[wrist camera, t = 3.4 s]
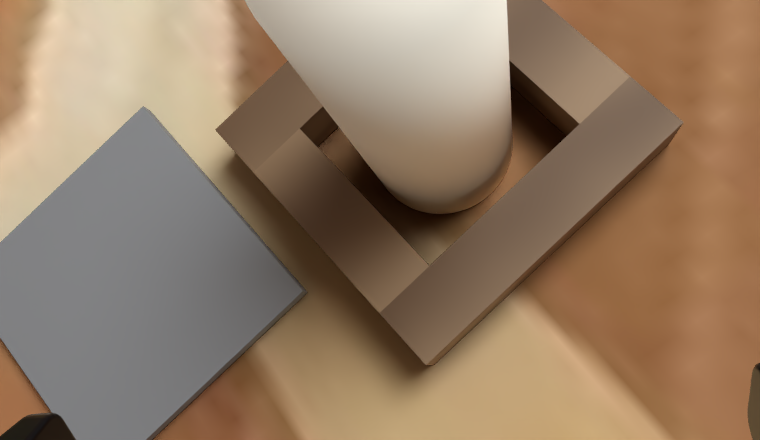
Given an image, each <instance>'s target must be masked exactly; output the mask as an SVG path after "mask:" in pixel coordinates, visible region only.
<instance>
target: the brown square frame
mask: <svg viewBox="0 0 760 440" xmlns="http://www.w3.org/2000/svg"><path fill="white" fill-rule="evenodd" d="M507 20H508V44H509V67H510V85H511V86H512V87H514V88H515V89H516V90H517V91H518V92H519V93H520V94H521V95H522V96H523V97H524V98H526V99H527V100H528V101H529V102H530V103H531V104H532V105H533V106H534V107H535V108H536V109H538V110H539V111H540V112H541V113H542V114H543V115H544V116H545V117H546V118H547V119H548V120H549V121H551V122H552V123H553V124H554V125H555V126H556V127H557V128H558V129H559V130H560V131H561V132H563V133H564V134H565V135H566V137H565V138H564V139H563V140H562V141H561V142H560V143H559V144H558V145H557V146H556V147H555V148H554V149H553V150H552V151H551V152H550V153H548V154H547V155H546V156H545V157H544V158H543V159H542V160H541V161H540V162H539V163H538V164H537V165H536V166H535V167H534V168H533V169H532V170H530V171H529V172H528V173H527V174H526V175H525V176H524V177H523V178H522V179H521V180H520V181H519V182H518V183H517V184H516V185H515V186H514V187H512V188H511V189H510V190H509V191H508V192H507V193H506V194H505V195H504V196H503V197H502V198H501V199H500V200H499V201H498V202H497V203H496V204H494V205H493V206H492V207H491V208H490V209H489V210H488V211H487V212H486V213H485V214H484V215H483V216H482V217H481V218H480V219H479V220H478V221H476V222H475V223H474V224H473V225H472V226H471V227H470V228H469V229H468V230H467V231H466V232H465V233H464V234H463V235H462V236H461V237H460V238H458V239H457V240H456V241H455V242H454V243H453V244H452V245H451V246H450V247H449V248H448V249H447V250H446V251H445V252H444V253H443V254H442V255H440V256H439V257H438V258H437V259H436V260H435V261H434V262H433V263H432V264H431V265H430V266H429V265H428V264H427V263H426V262H425V260H424V259H423V258H422V257H421V256H420V255H419V254H418V253H417V252H416V251H415V250H414V249H413V248H412V247H411V246H410V245H409V244H408V242H407V241H406V240H405V239H404V238H403V237H402V236H401V235H400V234H399V233H398V232H397V231H396V230H395V229H394V228H393V227H392V225H391V224H390V223H389V222H388V221H387V220H386V219H385V218H384V217H383V216H382V215H381V214H380V213H379V212H378V211H377V210H376V209H375V207H374V206H373V205H372V204H371V203H370V202H369V201H368V200H367V199H366V198H365V197H364V196H363V195H362V194H361V193H360V192H359V191H358V189H357V188H356V187H355V186H354V185H353V184H352V183H351V182H350V181H349V180H348V179H347V178H346V177H345V176H344V175H343V174H342V173H341V171H340V170H339V169H338V168H337V167H336V166H335V165H334V164H333V163H332V162H331V161H330V160H329V159H328V158H327V157H326V156H325V155H324V153H323V152H322V151H321V150H320V149H319V148H318V146H319V145H320V144H321V143H322V142H323V141H324V140H325V139H326V138H327V137H328V136H329V135H330V134H331V133H332V132H333V131H334V130H335V129H337V128H338V127H339V126H338V125H337V124H336V123H335V121H334V120H333V119H332V117H331V116H330V115H329V113H328V112H327V111H326V110H325V108H324V107H323V106H322V104H321V103H320V102H319V100H318V99H317V98H316V97H315V95H314V94H313V93H312V91H311V90H310V89H309V87H308V86H307V85H306V84H305V82H304V81H303V80H302V78H301V77H300V76H299V74H298V73H297V72H296V71H295V69H294V68H293V67H292V65H291V64H290V63H289V62H288V61H287V62H286V63H285V64H284V65H283V66H282V67H281V68H280V69H279V70H278V71H276V72H275V73H274V74H273V75H272V76H271V77H270V78H269V79H268V80H267V81H266V82H265V83H264V84H263V85H262V86H261V87H260V88H259V89H258V90H257V91H255V92H254V93H253V94H252V95H251V96H250V97H249V98H248V99H247V100H246V101H245V102H244V103H243V104H242V105H241V106H240V107H239V108H238V109H237V110H236V111H234V112H233V113H232V114H231V115H230V116H229V117H228V118H227V119H226V120H225V121H224V122H223V123H222V124H221V125H220V126H219V127H218V128H217V129H216V131H217V132H218V134H219V135H220V136H221V137H222V138H223V139H224V140H225V141H226V142H227V144H228V145H229V146H230V147H231V148H232V149H233V150H234V151H235V153H236V154H237V155H238V156H239V157H240V158H241V159H242V160H243V161H244V163H245V164H246V165H247V166H248V167H249V168H250V169H251V170H252V172H253V173H254V174H255V175H256V176H257V177H258V178H259V179H260V180H261V182H262V183H263V184H264V185H265V186H266V187H267V188H268V189H269V190H270V192H271V193H272V194H273V195H274V196H275V197H276V198H277V199H278V201H279V202H280V203H281V204H282V205H283V206H284V207H285V208H286V209H287V211H288V212H289V213H290V214H291V215H292V216H293V217H294V218H295V220H296V221H297V222H298V223H299V224H300V225H301V226H302V227H303V228H304V230H305V231H306V232H307V233H308V234H309V235H310V236H311V237H312V239H313V240H314V241H315V242H316V243H317V244H318V245H319V246H320V247H321V249H322V250H323V251H324V252H325V253H326V254H327V255H328V256H329V258H330V259H331V260H332V261H333V262H334V263H335V264H336V265H337V266H338V268H339V269H340V270H341V271H342V272H343V273H344V274H345V275H346V276H347V278H348V279H349V280H350V281H351V282H352V283H353V284H354V285H355V287H356V288H357V289H358V290H359V291H360V292H361V293H362V294H363V295H364V297H365V298H366V299H367V300H368V301H369V302H370V303H371V304H372V306H373V307H374V308H375V309H376V310H377V311H378V312H379V313H380V314H381V316H382V317H383V318H384V319H385V320H386V321H387V322H388V323H389V325H390V326H391V327H392V328H393V329H394V330H395V331H396V332H397V333H398V335H399V336H400V337H401V338H402V339H403V340H404V341H405V342H406V344H407V345H408V346H409V347H410V348H411V349H412V350H413V351H414V352H415V354H416V355H417V356H418V357H419V358H420V359H421V360H422V361H423V362H424V364H425V365H435V364H436V363H437V362H438V361H439V360H440V359H441V358H442V357H443V356H444V355H445V354H446V353H447V352H449V351H450V350H451V349H452V348H453V347H454V346H455V345H456V344H457V343H458V342H459V341H460V340H461V339H462V338H463V337H464V336H466V335H467V334H468V333H469V332H470V331H471V330H472V329H473V328H474V327H475V326H476V325H477V324H478V323H479V322H480V321H481V320H482V319H484V318H485V317H486V316H487V315H488V314H489V313H490V312H491V311H492V310H493V309H494V308H495V307H496V306H497V305H498V304H499V303H501V302H502V301H503V300H504V299H505V298H506V297H507V296H508V295H509V294H510V293H511V292H512V291H513V290H514V289H515V288H516V287H518V286H519V285H520V284H521V283H522V282H523V281H524V280H525V279H526V278H527V277H528V276H529V275H530V274H531V273H532V272H533V271H534V270H536V269H537V268H538V267H539V266H540V265H541V264H542V263H543V262H544V261H545V260H546V259H547V258H548V257H549V256H550V255H551V254H553V253H554V252H555V251H556V250H557V249H558V248H559V247H560V246H561V245H562V244H563V243H564V242H565V241H566V240H567V239H568V238H570V237H571V236H572V235H573V234H574V233H575V232H576V231H577V230H578V229H579V228H580V227H581V226H582V225H583V224H584V223H585V222H586V221H588V220H589V219H590V218H591V217H592V216H593V215H594V214H595V213H596V212H597V211H598V210H599V209H600V208H601V207H602V206H603V205H605V204H606V203H607V202H608V201H609V200H610V199H611V198H612V197H613V196H614V195H615V194H616V193H617V192H618V191H619V190H620V189H622V188H623V187H624V186H625V185H626V184H627V183H628V182H629V181H630V180H631V179H632V178H633V177H634V176H635V175H636V174H637V173H639V172H640V171H641V170H642V169H643V168H644V167H645V166H646V165H647V164H648V163H649V162H650V161H651V160H652V159H653V158H654V157H655V156H657V155H658V154H659V153H660V152H661V151H662V150H663V149H664V148H665V147H666V146H667V145H668V144H669V143H670V142H671V140H672V139H673V137H674V136H675V134H676V133H677V131H678V130H679V128H680V127H681V125H682V124H683V121H682V120H680V119H679V118H678V117H677V116H676V115H675V114H673V113H672V112H671V111H670V110H669V109H668V108H666V107H665V106H664V105H663V104H662V103H661V102H659V101H658V100H657V99H656V98H655V97H654V96H652V95H651V94H650V93H649V92H648V91H647V90H645V89H644V88H643V87H642V86H641V85H640V84H638V83H637V82H636V81H635V80H634V79H633V78H631V77H630V76H629V75H628V74H627V73H626V72H624V71H623V70H622V69H621V68H620V67H619V66H618V65H616V64H615V63H614V62H613V61H612V60H611V59H609V58H608V57H607V56H606V55H605V54H604V53H602V52H601V51H600V50H599V49H598V48H597V47H595V46H594V45H593V44H592V43H591V42H590V41H588V40H587V39H586V38H585V37H584V36H583V35H581V34H580V33H579V32H578V31H577V30H576V29H574V28H573V27H572V26H571V25H570V24H569V23H567V22H566V21H565V20H564V19H563V18H562V17H560V16H559V15H558V14H557V13H556V12H555V11H553V10H552V9H551V8H550V7H549V6H548V5H546V4H545V3H544V2H543V1H542V0H507Z"/></svg>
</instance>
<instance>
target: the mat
mask: <svg viewBox="0 0 760 440" xmlns="http://www.w3.org/2000/svg"><path fill="white" fill-rule="evenodd" d="M306 293H308V292H307V291H306V290H305V289H304V288H303V286H302V285H301V284H300V283H299V282H298V281H297V279H296V278H295V277H294V276H293V275H292V274H291V273H290V271H289V270H288V269H287V268H286V267H285V266H284V265H283V263H282V262H281V261H280V260H279V259H278V258H277V256H276V255H275V254H274V253H273V252H272V251H271V250H270V248H269V247H268V246H267V245H266V244H265V243H264V241H263V240H262V239H261V238H260V237H259V236H258V235H257V233H256V232H255V231H254V230H253V229H252V228H251V226H250V225H249V224H248V223H247V222H246V221H245V220H244V218H243V217H242V216H241V215H240V214H239V213H238V212H237V210H236V209H235V208H234V207H233V206H232V205H231V203H230V202H229V201H228V200H227V199H226V198H225V197H224V195H223V194H222V193H221V192H220V191H219V190H218V188H217V187H216V186H215V185H214V184H213V183H212V182H211V180H210V179H209V178H208V177H207V176H206V175H205V173H204V172H203V171H202V170H201V169H200V168H199V167H198V165H197V164H196V163H195V162H194V161H193V160H192V159H191V157H190V156H189V155H188V154H187V153H186V152H185V150H184V149H183V148H182V147H181V146H180V145H179V144H178V142H177V141H176V140H175V139H174V138H173V137H172V135H171V134H170V133H169V132H168V131H167V130H166V129H165V127H164V126H163V125H162V124H161V123H160V122H159V120H158V119H157V118H156V117H155V116H154V115H153V114H152V112H151V111H150V110H148V109H147V108H145V107H144V106H143V107H142V108H141V109H140V110H139V111H138V112H137V113H136V114H134V115H133V116H132V117H131V118H130V119H129V120H128V121H127V122H126V123H125V124H124V125H123V126H122V127H121V128H120V129H119V130H118V131H117V132H116V133H115V134H114V135H112V136H111V137H110V138H109V139H108V140H107V141H106V142H105V143H104V144H103V145H102V146H101V147H100V148H99V149H98V150H97V151H96V152H95V153H94V154H93V155H91V156H90V157H89V158H88V159H87V160H86V161H85V162H84V163H83V164H82V165H81V166H80V167H79V168H78V169H77V170H76V171H75V172H74V173H73V174H72V175H71V176H69V177H68V178H67V179H66V180H65V181H64V182H63V183H62V184H61V185H60V186H59V187H58V188H57V189H56V190H55V191H54V192H53V193H52V194H51V195H50V196H48V197H47V198H46V199H45V200H44V201H43V202H42V203H41V204H40V205H39V206H38V207H37V208H36V209H35V210H34V211H33V212H32V213H31V214H30V215H29V216H28V217H26V218H25V219H24V220H23V221H22V222H21V223H20V224H19V225H18V226H17V227H16V228H15V229H14V230H13V231H12V232H11V233H10V234H9V235H8V236H7V237H5V238H4V239H3V240H2V241H1V242H0V338H1V340H2V341H3V342H4V344H5V345H6V347H7V348H8V350H9V351H10V353H11V354H12V355H13V357H14V358H15V360H16V361H17V363H18V364H19V366H20V367H21V368H22V370H23V371H24V373H25V374H26V376H27V377H28V379H29V380H30V381H31V383H32V384H33V386H34V387H35V389H36V390H37V392H38V393H39V394H40V396H41V397H42V399H43V400H44V402H45V403H46V404H47V406H48V407H49V409H50V410H51V412H52V413H56V414H58V415H60V416H61V417H62V418H63V420H64V421H65V423H66V424H67V426H68V428H69V429H70V431H71V432H72V434H73V436H74V437H75V439H76V440H152V439H153V438H154V437H155V436H156V435H157V434H159V433H160V432H161V431H162V430H163V429H164V428H165V427H166V426H167V425H168V424H169V423H170V422H171V421H172V420H173V419H174V418H175V417H176V416H178V415H179V414H180V413H181V412H182V411H183V410H184V409H185V408H186V407H187V406H188V405H189V404H190V403H191V402H192V401H193V400H194V399H195V398H197V397H198V396H199V395H200V394H201V393H202V392H203V391H204V390H205V389H206V388H207V387H208V386H209V385H210V384H211V383H212V382H213V381H215V380H216V379H217V378H218V377H219V376H220V375H221V374H222V373H223V372H224V371H225V370H226V369H227V368H228V367H229V366H230V365H231V364H232V363H234V362H235V361H236V360H237V359H238V358H239V357H240V356H241V355H242V354H243V353H244V352H245V351H246V350H247V349H248V348H249V347H250V346H252V345H253V344H254V343H255V342H256V341H257V340H258V339H259V338H260V337H261V336H262V335H263V334H264V333H265V332H266V331H267V330H268V329H269V328H271V327H272V326H273V325H274V324H275V323H276V322H277V321H278V320H279V319H280V318H281V317H282V316H283V315H284V314H285V313H286V312H287V311H288V310H290V309H291V308H292V307H293V306H294V305H295V304H296V303H297V302H298V301H299V300H300V299H301V298H302V297H303V296H304V295H305V294H306Z"/></svg>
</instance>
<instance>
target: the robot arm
mask: <svg viewBox="0 0 760 440" xmlns="http://www.w3.org/2000/svg"><path fill="white" fill-rule="evenodd" d="M748 423H749V428H750V432H751V435H752V438H753V440H760V363H758V364H756V365H755V367H754V369H753V372H752V379H751V387H750V395H749V403H748ZM0 440H76V439H75V437H74V436H73V434H72V432H71V431H70V429H69V428H68V426H67V424H66V423H65V421H64V420H63V418H62V417H61V416H60V415H58V414H56V413H41V414H31V415H28V416H26V417H24V418H22V419H21V420H20V421H19V422H17V423H16V424H15V425H14V426H12V427H11V428H10V429H9V430H7V431H6V432H5V433H4V434H2V435H1V436H0Z"/></svg>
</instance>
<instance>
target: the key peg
mask: <svg viewBox="0 0 760 440" xmlns="http://www.w3.org/2000/svg"><path fill="white" fill-rule="evenodd" d="M245 2H246V4H247V6H248V7H249V9H250V11H251V12H252V14H253V16H254V17H255V19H256V20H257V21H258V23H259V24H260V25H261V26H262V28H263V29H264V30H265V32H266V33H267V34H268V36H269V37H270V38H271V39H272V41H273V42H274V43H275V45H276V46H277V47H278V49H279V50H280V51H281V52H282V54H283V55H284V56H285V58H286V59H287V60H288V62H289V63H290V64H291V65H292V67H293V68H294V69H295V71H296V72H297V73H298V74H299V76H300V77H301V78H302V80H303V81H304V82H305V84H306V85H307V86H308V87H309V89H310V90H311V91H312V93H313V94H314V95H315V97H316V98H317V99H318V100H319V102H320V103H321V104H322V106H323V107H324V108H325V110H326V111H327V112H328V113H329V115H330V116H331V117H332V119H333V120H334V121H335V123H336V124H337V125H338V126H339V128H340V129H341V130H342V132H343V133H344V134H345V136H346V137H347V138H348V139H349V141H350V142H351V143H352V145H353V146H354V147H355V149H356V150H357V151H358V152H359V154H360V155H361V156H362V158H363V159H364V160H365V161H366V163H367V164H368V165H369V167H370V168H371V169H372V171H373V172H374V173H375V174H376V176H377V177H378V178H379V180H380V181H381V182H382V184H383V185H384V186H385V187H386V189H387V190H388V191H389V192H390V193H391V194H392V195H393V196H394V197H395V198H396V199H397V200H399V201H400V202H402V203H403V204H404V205H406V206H408V207H410V208H412V209H415V210H418V211H421V212H426V213H431V214H449V213H455V212H459V211H462V210H465V209H468V208H470V207H472V206H474V205H476V204H478V203H479V202H481V201H483V200H484V199H485V198H486V197H488V196H489V195H490V194H491V193H492V192H493V191H494V190H495V189H496V188H497V186H498V185H499V184H500V182H501V181H502V179H503V178H504V176H505V174H506V172H507V170H508V167H509V164H510V161H511V156H512V148H513V139H512V115H511V91H510V67H509V44H508V20H507V0H245Z"/></svg>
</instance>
